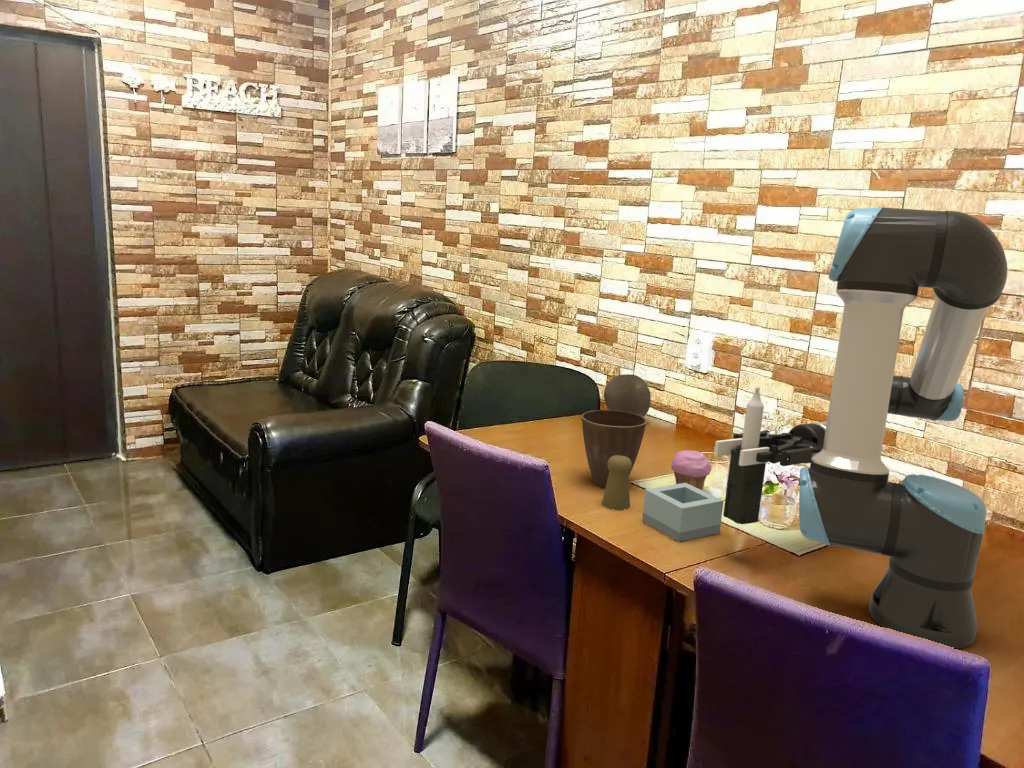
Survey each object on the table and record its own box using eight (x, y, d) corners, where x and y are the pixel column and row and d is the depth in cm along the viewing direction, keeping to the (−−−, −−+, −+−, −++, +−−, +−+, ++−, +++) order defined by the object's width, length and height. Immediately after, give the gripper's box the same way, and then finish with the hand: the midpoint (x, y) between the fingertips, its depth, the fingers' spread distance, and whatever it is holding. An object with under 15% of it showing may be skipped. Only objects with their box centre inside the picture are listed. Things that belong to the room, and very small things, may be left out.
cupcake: (691, 502, 167) (696, 459, 164) (661, 490, 173) (665, 449, 171) (715, 494, 172) (720, 453, 170) (684, 483, 179) (689, 443, 177)
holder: (719, 533, 150) (723, 500, 149) (678, 542, 145) (682, 508, 143) (682, 513, 160) (685, 482, 158) (642, 521, 154) (645, 489, 153)
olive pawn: (629, 511, 159) (633, 462, 156) (600, 508, 160) (605, 459, 158) (630, 501, 165) (635, 454, 162) (603, 498, 166) (607, 451, 163)
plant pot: (591, 496, 167) (596, 427, 163) (567, 473, 181) (572, 410, 177) (651, 492, 171) (658, 425, 168) (624, 471, 185) (629, 408, 181)
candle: (720, 514, 139) (736, 383, 134) (741, 512, 141) (758, 383, 136) (739, 524, 135) (757, 389, 130) (760, 521, 137) (779, 389, 132)
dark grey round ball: (623, 413, 241) (627, 368, 238) (657, 424, 231) (662, 377, 227) (593, 419, 232) (596, 372, 229) (627, 430, 222) (631, 381, 218)
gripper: (853, 475, 137) (766, 489, 126) (774, 448, 153) (690, 458, 141) (859, 436, 136) (771, 447, 124) (779, 412, 151) (694, 420, 140)
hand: (728, 453), depth 133 cm, fingers closed on candle, 5 cm apart
